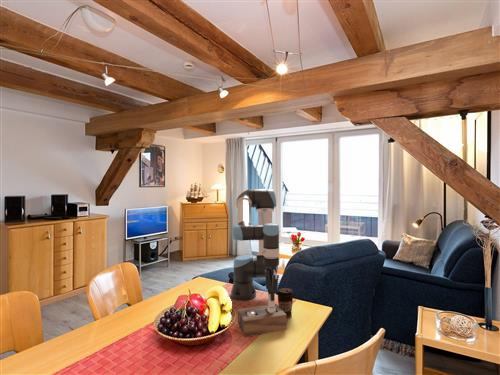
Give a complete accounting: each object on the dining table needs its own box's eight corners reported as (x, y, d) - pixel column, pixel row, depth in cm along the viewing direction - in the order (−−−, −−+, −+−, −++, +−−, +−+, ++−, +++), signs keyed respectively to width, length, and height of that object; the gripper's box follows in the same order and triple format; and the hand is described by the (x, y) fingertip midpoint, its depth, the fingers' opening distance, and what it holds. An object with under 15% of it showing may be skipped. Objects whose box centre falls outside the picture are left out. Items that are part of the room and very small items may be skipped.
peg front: (245, 323, 130) (245, 311, 130) (254, 322, 131) (254, 310, 131) (248, 328, 126) (248, 315, 126) (256, 326, 127) (256, 313, 127)
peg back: (266, 318, 133) (265, 305, 133) (273, 316, 134) (273, 304, 134) (269, 322, 129) (269, 309, 129) (277, 320, 130) (277, 308, 130)
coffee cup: (294, 319, 136) (294, 293, 136) (277, 319, 136) (277, 293, 136) (292, 311, 145) (292, 286, 145) (276, 311, 145) (276, 286, 145)
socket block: (237, 323, 133) (237, 309, 133) (276, 317, 139) (276, 303, 138) (244, 337, 121) (244, 321, 121) (286, 329, 127) (286, 314, 127)
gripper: (259, 254, 136) (259, 302, 136) (268, 260, 124) (269, 313, 124) (273, 252, 138) (273, 300, 138) (284, 259, 126) (284, 311, 126)
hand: (271, 306), depth 131 cm, fingers closed
